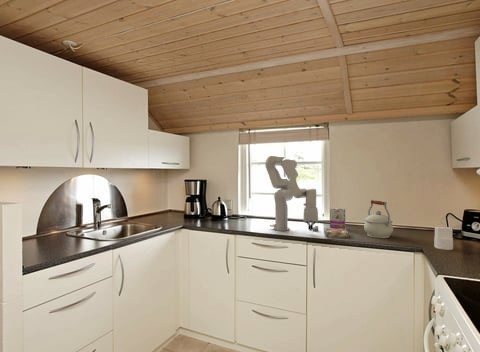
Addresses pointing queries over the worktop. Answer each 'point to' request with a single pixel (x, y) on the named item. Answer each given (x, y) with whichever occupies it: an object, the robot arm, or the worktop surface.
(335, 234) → the caddy
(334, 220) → the candy bar box
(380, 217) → the kettle
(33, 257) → the worktop surface
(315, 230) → the shiny gray cylinder
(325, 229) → the tray
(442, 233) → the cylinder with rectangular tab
